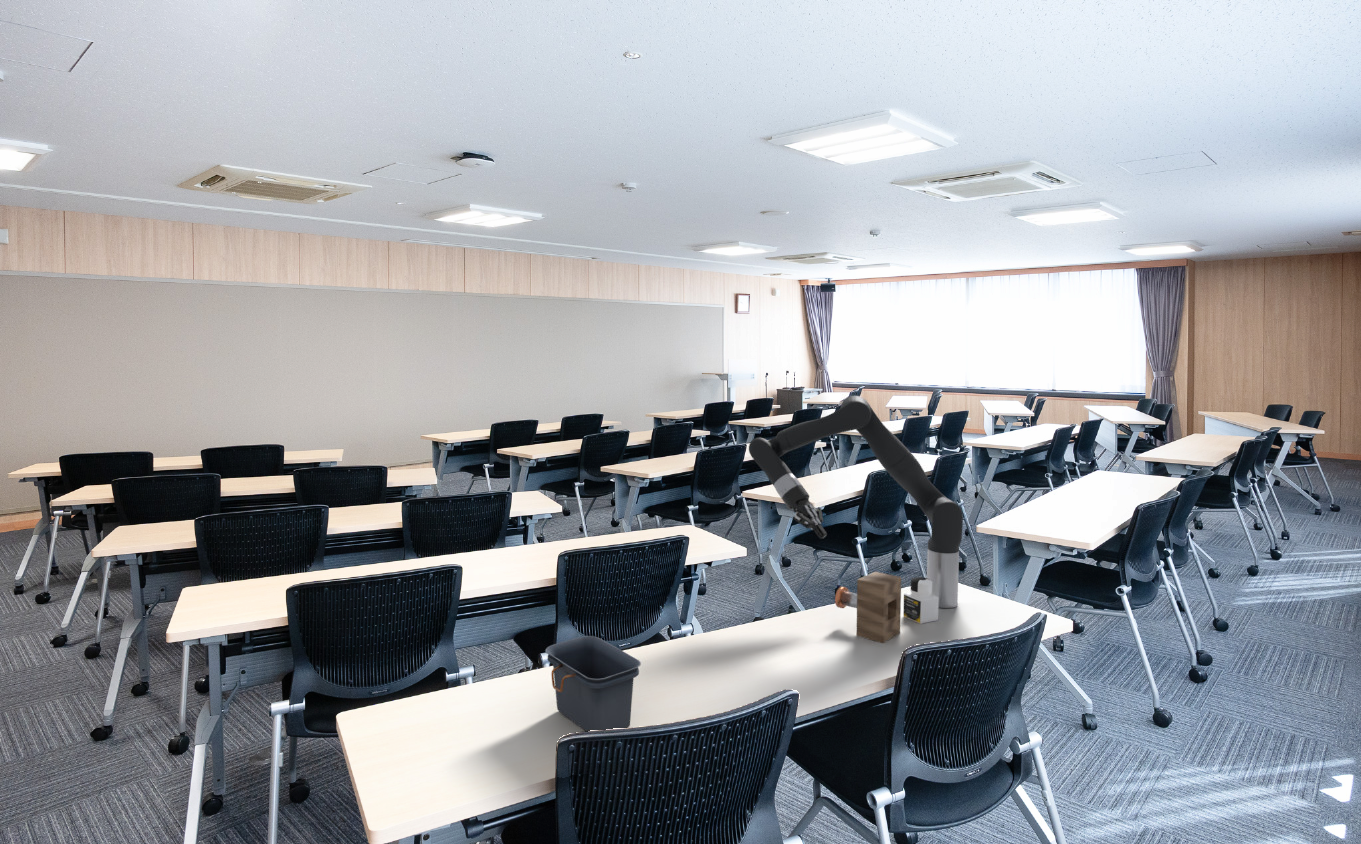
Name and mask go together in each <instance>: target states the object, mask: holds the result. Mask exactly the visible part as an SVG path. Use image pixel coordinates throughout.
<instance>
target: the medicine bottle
mask: <svg viewBox="0 0 1361 844" xmlns="http://www.w3.org/2000/svg"><path fill="white" fill-rule="evenodd" d="M938 602H939V597H937V596H935V595H932V581H931V580H929V579H927V577H924V576H923V577H922V576H918V577H917V576H916V577H913V578H911V579H910V592H906V593H904V594H903V612H902V613H903V617H904V618H906V619H907V620H908V619H909V620H911V621H913V622H915V623H917V624H921V625H922V624H926V623H931V622H937V621H938V620H939V607H938Z"/></svg>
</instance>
